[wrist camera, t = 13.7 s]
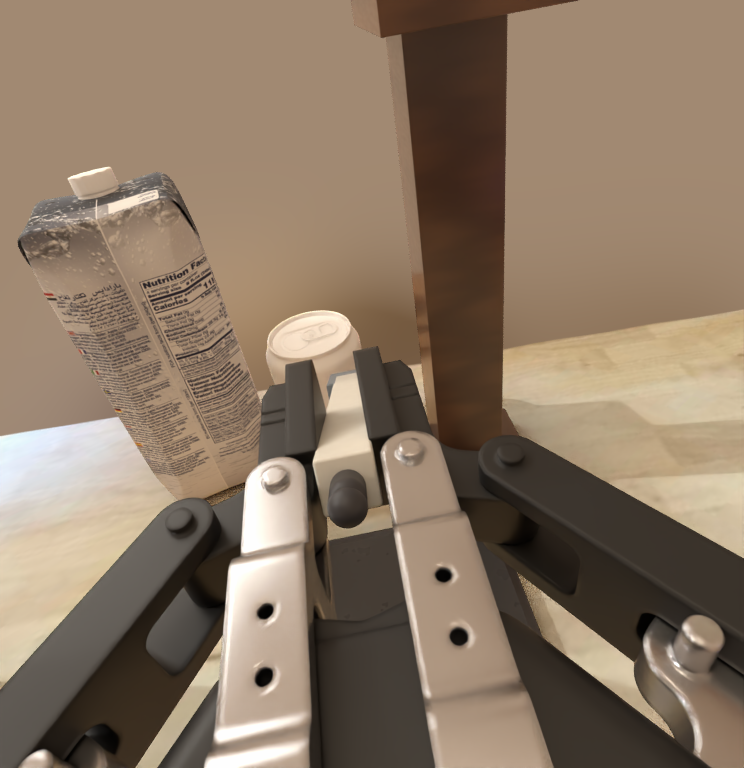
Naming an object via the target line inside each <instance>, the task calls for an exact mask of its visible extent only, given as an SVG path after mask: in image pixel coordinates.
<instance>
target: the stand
mask: <svg viewBox="0 0 744 768" xmlns="http://www.w3.org/2000/svg"><path fill="white" fill-rule="evenodd" d="M573 1H578V0H351V4H352V11H353V19H354V25H355V26H357V27H359V28H361V29H364V30H366V31H368V32H370V33H372V34H374V35H376V36H378V37H381V38H384V37H386V42H387V51H388V60H389V70H390V79H391V87H392V97H393V106H394V116H395V124H396V134H397V143H398V153H399V162H400V171H401V180H402V189H403V199H404V208H405V217H406V226H407V235H408V245H409V253H410V263H411V272H412V281H413V290H414V299H415V308H416V317H417V327H418V337H419V345H420V355H421V364H422V373H423V383H424V392H425V401H426V410H427V419H428V422H429V425H430V428H431V431H432V433H433V435H434V436H435V438H436V439H437V440H438V441H439V442H441V443H442V444H444V445H446V446H448V447H451V448H454V449H458V450H470V451H480V448H481V447H482V445H483V444H484V443H486V442H487V441H488V440H490V439H492V438H494V437H498V436H502V435H516V436H519V435H518V433H517V431H516V429H515V427H514V425H513V423H512V421H511V420H510V418H509V416H508V414H507V412H506V410H505V409H502V380H503V304H504V301H503V300H504V230H505V156H506V81H507V14H510V13H515V12H520V11H525V10H531V9H536V8H541V7H547V6H552V5H557V4H562V3H568V2H573Z"/></svg>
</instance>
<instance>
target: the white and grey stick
mask: <svg viewBox="0 0 744 768" xmlns="http://www.w3.org/2000/svg"><path fill="white" fill-rule="evenodd" d="M326 387H327V392H328V397H329V403H328V407H327V411H326V417H325V421H324V425H323V429H322V433H321V436H320V440H319V444H318V448H317V450H316V452H315V456H314V459H313V468H314V473H315V477H316V482H317V487H318V491H319V496H320V500H321V505H322V509H323V514H324V516H325V517H330V519H331V520H332V521H333V523H335V524H336V525H337V526H339V527H342V528H353V527H356V526H357V525H359V524H360V523H361V522H362V521H363V520H364V519H365V517H366V515H367V511H368V509H371V508H376V507H380V506H382V505H383V498H382V492H381V486H380V481H379V476H378V471H377V466H376V461H375V456H374V452H373V447H372V442H371V441H370V440H368V434H367V429H366V423H365V418H364V412H363V407H362V401H361V396H360V390H359V385H358V379H357V374H356V369H355V370H350V371H345V372H340V373H335V374H331V375H330V377H329V380H328V383H327V386H326Z"/></svg>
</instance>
